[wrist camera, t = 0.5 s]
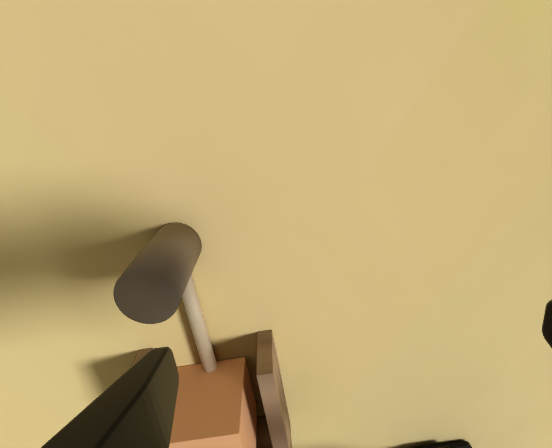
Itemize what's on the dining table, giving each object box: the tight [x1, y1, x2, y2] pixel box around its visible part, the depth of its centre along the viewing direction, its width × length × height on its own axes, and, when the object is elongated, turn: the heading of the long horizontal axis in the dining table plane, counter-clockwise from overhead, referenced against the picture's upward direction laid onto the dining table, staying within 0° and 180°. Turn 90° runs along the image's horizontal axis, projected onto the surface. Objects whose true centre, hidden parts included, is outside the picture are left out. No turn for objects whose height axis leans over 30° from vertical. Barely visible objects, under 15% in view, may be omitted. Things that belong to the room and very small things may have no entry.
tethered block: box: [114, 223, 257, 448], centre depth 21 cm, size 16×5×6 cm, turn 9°
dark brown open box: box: [130, 330, 292, 448], centre depth 24 cm, size 9×10×4 cm
